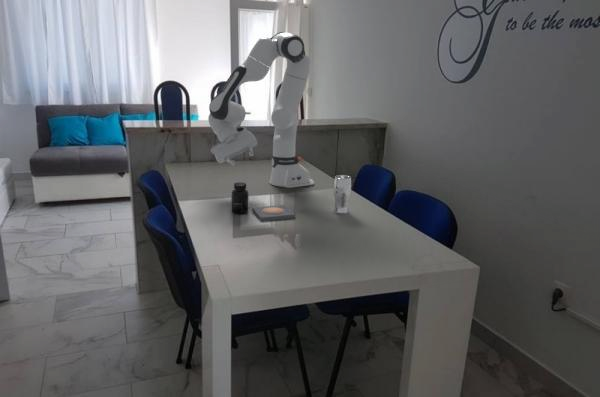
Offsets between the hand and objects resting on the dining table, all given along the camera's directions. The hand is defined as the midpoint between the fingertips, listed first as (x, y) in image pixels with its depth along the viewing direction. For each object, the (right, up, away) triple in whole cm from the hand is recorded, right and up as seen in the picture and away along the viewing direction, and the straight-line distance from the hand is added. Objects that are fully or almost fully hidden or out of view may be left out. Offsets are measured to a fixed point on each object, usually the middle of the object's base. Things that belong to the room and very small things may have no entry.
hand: (243, 159), depth 211 cm
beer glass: (+42, -23, -16) cm, 51 cm away
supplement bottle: (+1, -23, -20) cm, 31 cm away
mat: (+15, -24, -22) cm, 36 cm away
